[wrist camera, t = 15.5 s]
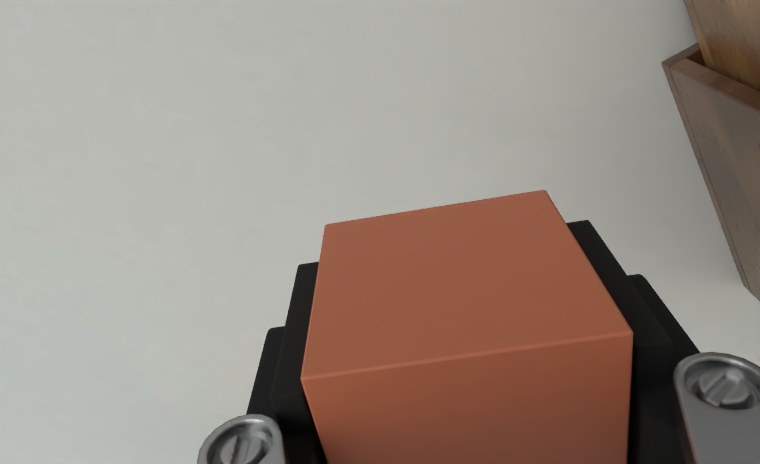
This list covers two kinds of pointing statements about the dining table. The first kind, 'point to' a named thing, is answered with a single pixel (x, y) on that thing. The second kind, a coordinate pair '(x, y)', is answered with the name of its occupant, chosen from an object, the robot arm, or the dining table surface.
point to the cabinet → (724, 151)
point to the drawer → (729, 37)
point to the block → (466, 340)
